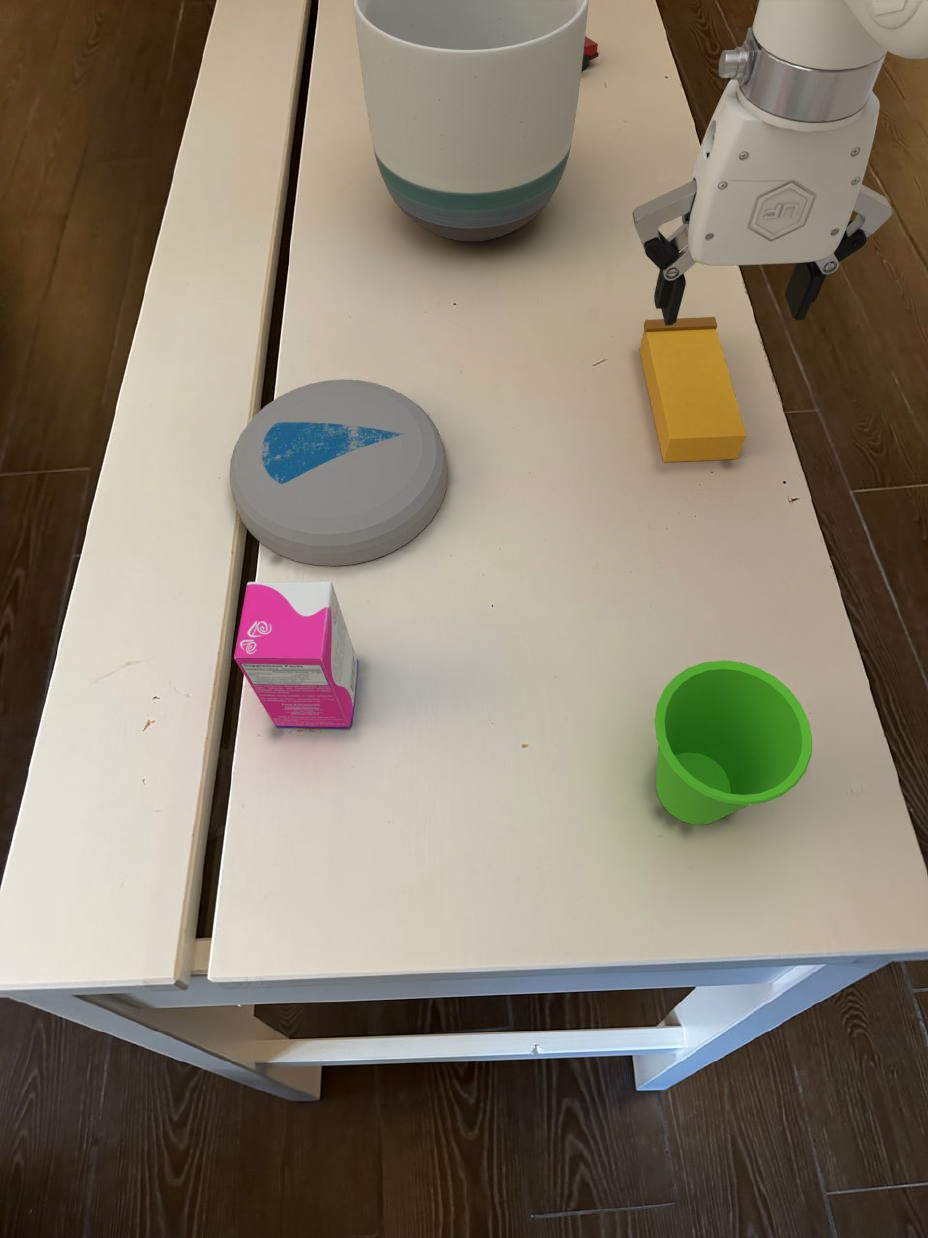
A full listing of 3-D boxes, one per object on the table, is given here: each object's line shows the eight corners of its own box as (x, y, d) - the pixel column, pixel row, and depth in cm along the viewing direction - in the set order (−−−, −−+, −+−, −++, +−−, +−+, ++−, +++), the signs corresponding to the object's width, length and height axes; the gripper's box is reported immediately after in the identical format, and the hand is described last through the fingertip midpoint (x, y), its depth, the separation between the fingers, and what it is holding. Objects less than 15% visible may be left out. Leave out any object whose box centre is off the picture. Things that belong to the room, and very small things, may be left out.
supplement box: (282, 659, 64) (246, 577, 54) (359, 660, 64) (338, 579, 54) (271, 729, 61) (231, 657, 51) (352, 731, 61) (327, 659, 51)
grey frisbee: (465, 547, 69) (464, 509, 65) (240, 584, 68) (223, 548, 63) (429, 387, 78) (426, 345, 74) (229, 416, 77) (214, 375, 72)
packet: (737, 459, 73) (748, 432, 70) (663, 462, 73) (670, 435, 70) (706, 345, 80) (715, 316, 78) (638, 348, 80) (644, 319, 77)
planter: (579, 273, 86) (606, 44, 67) (380, 285, 86) (352, 57, 67) (555, 156, 96) (572, -70, 78) (377, 166, 96) (352, -59, 77)
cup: (615, 736, 61) (640, 667, 51) (738, 722, 61) (786, 651, 51) (642, 861, 56) (675, 811, 46) (775, 846, 56) (835, 793, 47)
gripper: (670, 112, 47) (623, 350, 62) (979, 101, 47) (857, 340, 62) (649, 40, 50) (609, 281, 65) (935, 30, 51) (830, 272, 65)
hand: (730, 310), depth 64 cm, fingers open, 9 cm apart
